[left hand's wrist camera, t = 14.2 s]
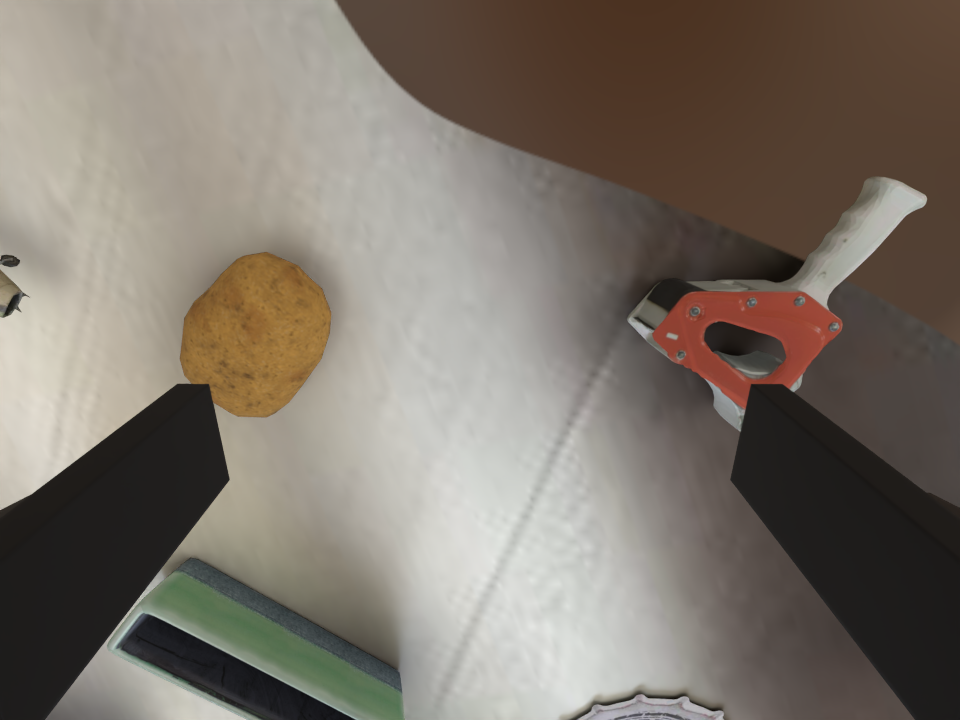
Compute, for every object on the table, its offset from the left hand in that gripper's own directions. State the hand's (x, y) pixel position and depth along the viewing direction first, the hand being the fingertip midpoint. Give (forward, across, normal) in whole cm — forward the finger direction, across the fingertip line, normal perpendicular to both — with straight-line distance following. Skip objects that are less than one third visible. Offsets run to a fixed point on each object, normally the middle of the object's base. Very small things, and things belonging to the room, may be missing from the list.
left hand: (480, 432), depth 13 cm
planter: (+28, -20, -39) cm, 52 cm away
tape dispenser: (+28, +22, -4) cm, 35 cm away
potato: (+28, -16, -6) cm, 33 cm away
